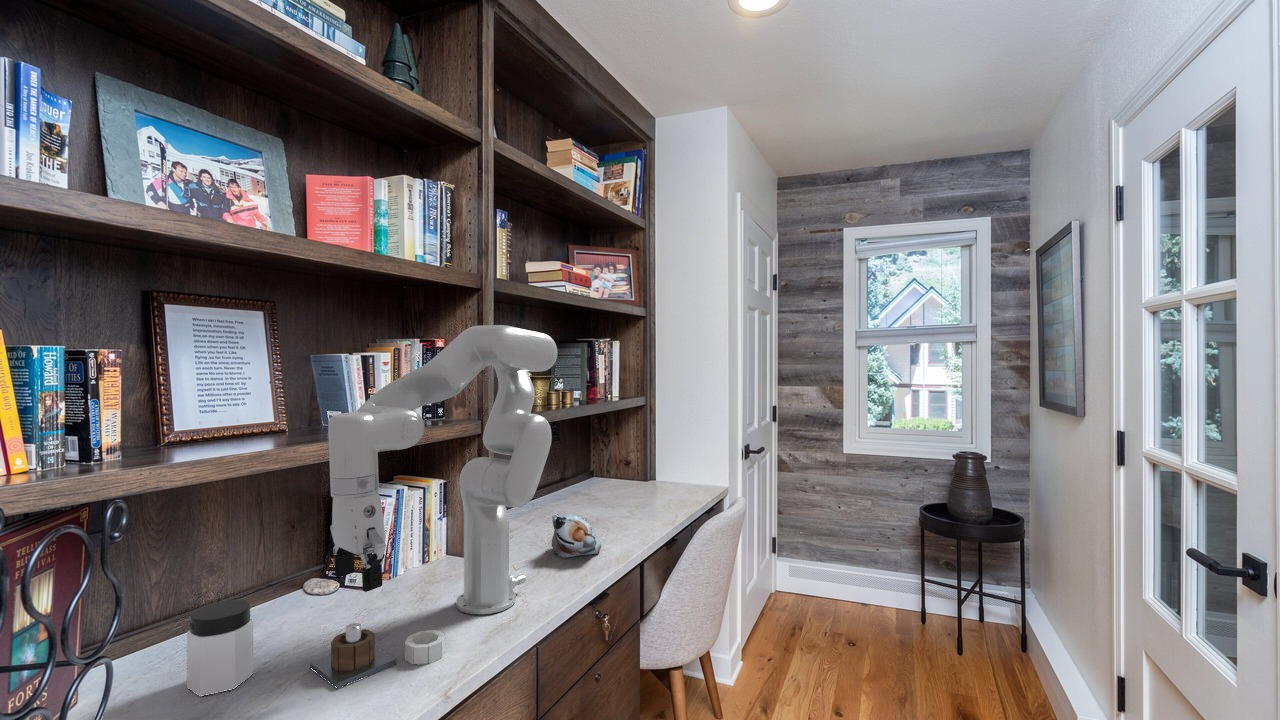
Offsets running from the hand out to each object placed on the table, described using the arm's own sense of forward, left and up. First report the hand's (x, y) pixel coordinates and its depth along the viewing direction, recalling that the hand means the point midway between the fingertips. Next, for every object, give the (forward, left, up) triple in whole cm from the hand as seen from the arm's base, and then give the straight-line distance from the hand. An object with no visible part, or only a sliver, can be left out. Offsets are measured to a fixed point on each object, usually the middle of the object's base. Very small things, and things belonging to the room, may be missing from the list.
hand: (358, 581), depth 104 cm
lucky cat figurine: (-66, -11, -15) cm, 68 cm away
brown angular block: (+1, 0, -13) cm, 13 cm away
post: (+1, 0, -14) cm, 14 cm away
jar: (+17, -12, -15) cm, 25 cm away
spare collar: (-9, +6, -14) cm, 18 cm away
